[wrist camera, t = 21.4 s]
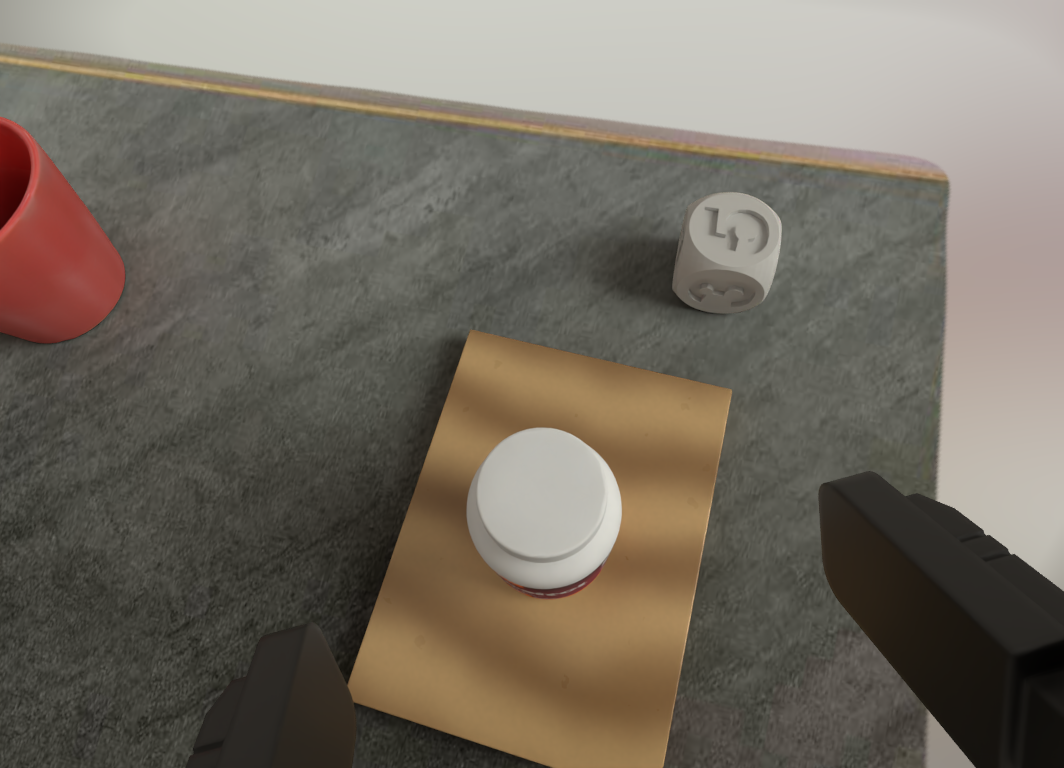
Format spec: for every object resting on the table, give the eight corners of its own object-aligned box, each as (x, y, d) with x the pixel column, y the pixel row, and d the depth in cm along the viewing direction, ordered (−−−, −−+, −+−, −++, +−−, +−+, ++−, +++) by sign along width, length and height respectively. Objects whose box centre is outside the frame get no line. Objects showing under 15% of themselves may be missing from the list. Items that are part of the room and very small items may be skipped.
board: (473, 340, 39) (469, 328, 38) (726, 398, 37) (732, 389, 36) (352, 696, 32) (342, 698, 31) (653, 795, 30) (656, 802, 29)
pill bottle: (473, 584, 33) (428, 555, 22) (505, 465, 35) (477, 390, 25) (597, 616, 32) (608, 601, 22) (621, 492, 34) (643, 426, 24)
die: (678, 237, 41) (692, 185, 36) (760, 248, 40) (784, 196, 36) (668, 307, 39) (681, 262, 35) (754, 320, 39) (778, 275, 34)
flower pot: (-35, 270, 43) (-195, 171, 34) (122, 194, 45) (9, 81, 36) (3, 398, 40) (-164, 325, 31) (174, 310, 41) (62, 216, 32)
